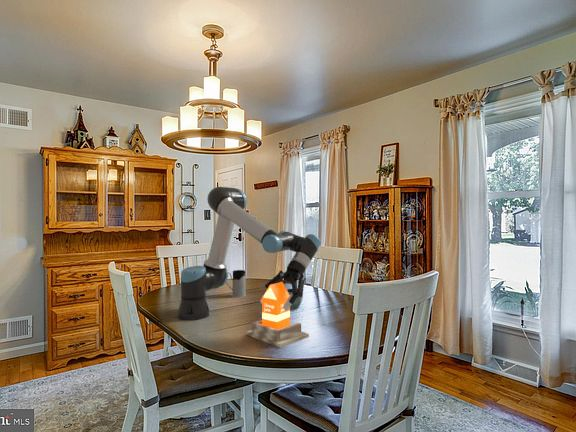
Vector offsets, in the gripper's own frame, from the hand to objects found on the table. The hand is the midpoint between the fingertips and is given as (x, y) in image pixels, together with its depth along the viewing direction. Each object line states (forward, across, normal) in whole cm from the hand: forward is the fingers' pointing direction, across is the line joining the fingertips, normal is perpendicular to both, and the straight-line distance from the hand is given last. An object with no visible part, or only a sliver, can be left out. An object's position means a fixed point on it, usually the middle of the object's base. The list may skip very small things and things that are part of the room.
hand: (272, 306), depth 140 cm
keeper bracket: (+7, 0, -10) cm, 13 cm away
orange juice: (+6, +1, -10) cm, 12 cm away
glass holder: (-15, +70, -32) cm, 79 cm away
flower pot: (-18, +25, -36) cm, 47 cm away
